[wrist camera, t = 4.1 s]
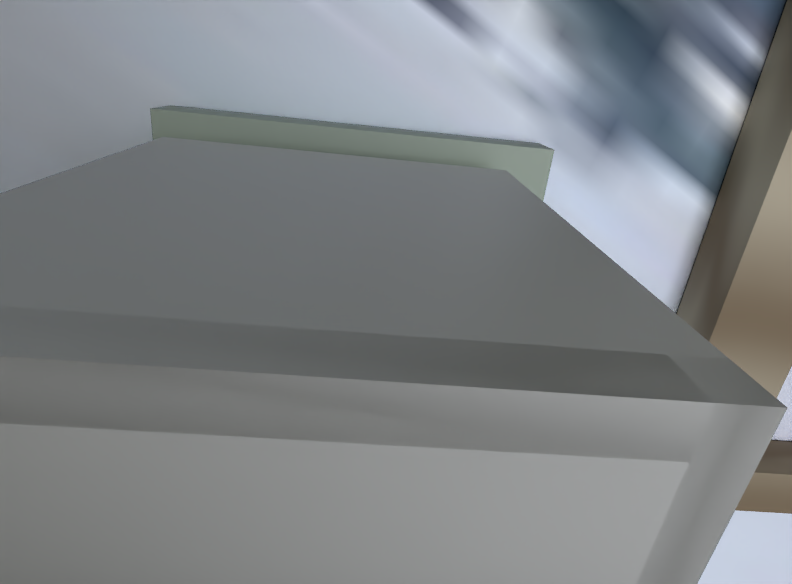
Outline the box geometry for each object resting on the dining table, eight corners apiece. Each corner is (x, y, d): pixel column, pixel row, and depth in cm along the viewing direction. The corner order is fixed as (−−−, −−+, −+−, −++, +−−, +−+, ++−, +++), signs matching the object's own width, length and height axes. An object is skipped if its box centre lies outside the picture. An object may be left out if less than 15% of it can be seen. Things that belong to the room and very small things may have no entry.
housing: (162, 137, 10) (-390, 331, 3) (506, 170, 11) (787, 407, 3) (194, 505, 14) (0, 972, 7) (440, 516, 15) (502, 962, 7)
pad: (171, 105, 12) (-16, 133, 6) (539, 143, 13) (667, 199, 7) (197, 489, 17) (102, 701, 11) (465, 504, 17) (506, 714, 12)
